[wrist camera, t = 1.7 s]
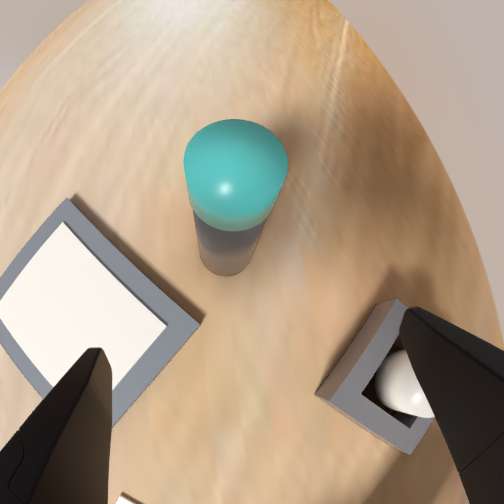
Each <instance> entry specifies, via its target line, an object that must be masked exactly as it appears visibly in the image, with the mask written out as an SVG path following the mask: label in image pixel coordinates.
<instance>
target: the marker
mask: <svg viewBox="0 0 504 504" xmlns="http://www.w3.org/2000/svg"><path fill="white" fill-rule="evenodd" d="M184 170H185V176H186V183H187V189H188V196H189V200H190V204H191V206H192V208H193V213H194V220H195V226H196V233H197V239H198V245H199V251H200V257H201V260H202V262H203V264H204V265H205V267H206V268H207V269H208V270H209V271H211V272H212V273H214V274H216V275H220V276H232V275H235V274H238V273H240V272H241V271H242V270H244V269H245V268H246V266H247V265H248V263H249V262H250V259H251V257H252V254H253V251H254V249H255V246H256V244H257V241H258V239H259V236H260V234H261V231H262V228H263V226H264V223H265V221H266V218H267V217H268V215H269V214H270V213H271V211H272V209H273V207H274V204H275V202H276V200H277V197H278V195H279V192H280V190H281V187H282V185H283V182H284V180H285V177H286V175H287V170H288V158H287V154H286V151H285V148H284V146H283V145H282V143H281V141H280V140H279V139H278V138H277V137H276V136H275V135H274V134H273V133H272V132H271V131H269V130H268V129H267V128H265V127H263V126H261V125H259V124H257V123H254V122H251V121H246V120H239V119H229V120H222V121H218V122H215V123H212V124H210V125H208V126H206V127H204V128H202V129H201V130H200V131H198V132H197V133H196V134H195V135H194V136H193V138H192V139H191V140H190V142H189V143H188V145H187V148H186V150H185V154H184Z"/></svg>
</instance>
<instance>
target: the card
mask: <svg viewBox="0 0 504 504" xmlns="http://www.w3.org/2000/svg"><path fill="white" fill-rule="evenodd" d="M116 504H136V503H135V502H133V501H131V500H129V499H128V498H126V497H124V496H122V495H120V497H119V499H118V500H117V502H116Z"/></svg>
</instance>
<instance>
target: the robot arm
mask: <svg viewBox="0 0 504 504" xmlns="http://www.w3.org/2000/svg"><path fill="white" fill-rule="evenodd" d="M399 334H400V337H401V340H402V342H403V345H404V347H405V350H406V353H407V355H408V358H409V361H410V363H411V366H412V368H413V371H414V373H415V376H416V378H417V380H418V382H419V384H420V386H421V388H422V390H423V392H424V394H425V396H426V399H427V401H428V403H429V405H430V407H431V409H432V411H433V414H434V416H435V418H436V420H437V422H438V425H439V427H440V429H441V432H442V434H443V436H444V438H445V441H446V443H447V446H448V448H449V450H450V453H451V455H452V458H453V460H454V463H455V465H456V468H457V470H458V473H459V476H460V478H461V481H462V483H463V486H464V489H465V492H466V494H467V497H468V500H469V503H470V504H504V351H503V350H501V349H499V348H497V347H495V346H494V345H492V344H490V343H488V342H486V341H484V340H482V339H480V338H478V337H476V336H475V335H473V334H471V333H469V332H467V331H465V330H463V329H461V328H459V327H457V326H455V325H453V324H451V323H449V322H447V321H446V320H444V319H442V318H440V317H438V316H436V315H434V314H432V313H430V312H428V311H426V310H424V309H422V308H420V307H412V308H408V309H406V310H405V312H404V315H403V318H402V321H401V324H400V327H399ZM111 431H112V368H111V365H110V363H109V361H108V359H107V356H106V354H105V352H104V350H103V349H102V348H101V347H90V348H88V349H87V350H86V351H85V352H84V353H83V354H82V355H81V356H80V357H79V359H78V360H77V361H76V362H75V363H74V364H73V365H72V366H71V368H70V369H69V370H68V371H67V372H66V373H65V374H64V376H63V377H62V378H61V379H60V380H59V381H58V382H57V384H56V385H55V386H54V387H53V388H52V389H51V391H50V392H49V393H48V394H47V395H46V397H45V398H44V399H43V400H42V401H41V402H40V404H39V405H38V406H37V407H36V408H35V410H34V411H33V412H32V413H31V414H30V416H29V417H28V418H27V419H26V421H25V422H24V423H23V424H22V425H21V427H20V428H19V430H17V432H16V433H15V434H14V435H13V437H12V438H11V439H10V440H9V441H8V443H7V444H6V445H5V446H4V447H3V449H2V450H1V451H0V504H108V476H109V457H110V443H111Z"/></svg>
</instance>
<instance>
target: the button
mask: <svg viewBox="0 0 504 504" xmlns="http://www.w3.org/2000/svg"><path fill="white" fill-rule="evenodd" d="M375 391H376V395H377V397H378V399H379V401H380V402H381V403H382V404H383V405H384V406H385V407H387V408H389V409H393V410H396V411H400V412H403V413H407V414H411V415H415V416H419V417H423V418H431V417H435V416H434V414H433V411H432V409H431V407H430V405H429V403H428V401H427V399H426V396H425V394H424V392H423V390H422V388H421V386H420V384H419V382H418V380H417V378H416V376H415V373H414V371H413V368H412V366H411V363H410V361H409V358H408V355H407V353H406V350H399V351H396V352H393V353H392V354H390V355H389V356H387V357H386V358H385V359H384V361H383V362H382V363H381V365H380V367H379V369H378V371H377V374H376V378H375Z"/></svg>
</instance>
